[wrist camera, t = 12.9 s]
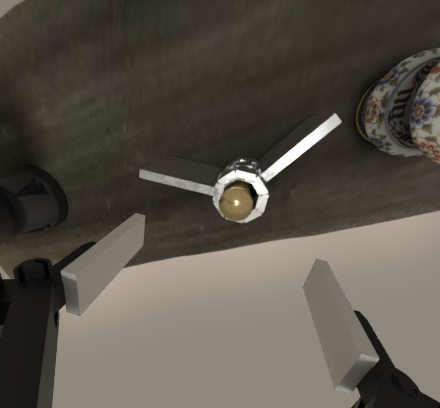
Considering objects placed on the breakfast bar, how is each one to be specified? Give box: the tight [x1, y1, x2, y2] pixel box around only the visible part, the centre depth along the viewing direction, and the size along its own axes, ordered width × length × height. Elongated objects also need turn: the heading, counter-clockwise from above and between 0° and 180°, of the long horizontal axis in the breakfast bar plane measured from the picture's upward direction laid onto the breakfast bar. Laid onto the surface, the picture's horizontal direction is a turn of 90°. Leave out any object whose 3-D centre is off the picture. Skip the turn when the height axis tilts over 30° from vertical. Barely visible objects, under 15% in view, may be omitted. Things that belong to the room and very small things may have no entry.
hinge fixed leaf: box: [139, 156, 269, 223], centre depth 33 cm, size 18×7×12 cm, turn 78°
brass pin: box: [219, 180, 253, 221], centre depth 31 cm, size 4×4×15 cm
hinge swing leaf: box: [223, 113, 342, 200], centre depth 30 cm, size 18×7×12 cm, turn 133°
